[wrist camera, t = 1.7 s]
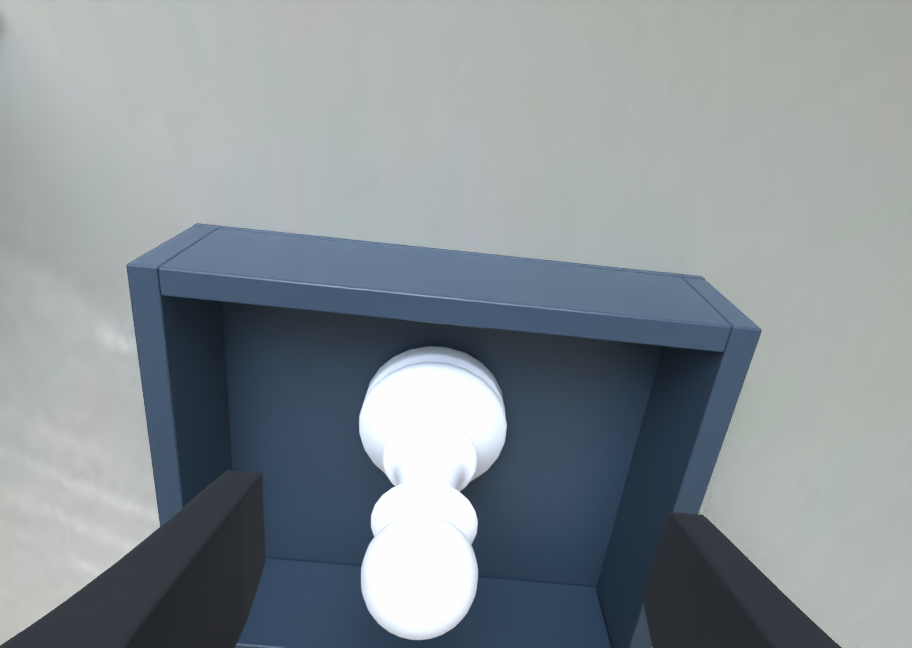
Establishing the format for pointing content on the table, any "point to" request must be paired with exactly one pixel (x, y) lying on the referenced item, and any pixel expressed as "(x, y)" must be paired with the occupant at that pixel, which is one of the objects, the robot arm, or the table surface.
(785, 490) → the table surface
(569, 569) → the crate
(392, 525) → the chess pawn
